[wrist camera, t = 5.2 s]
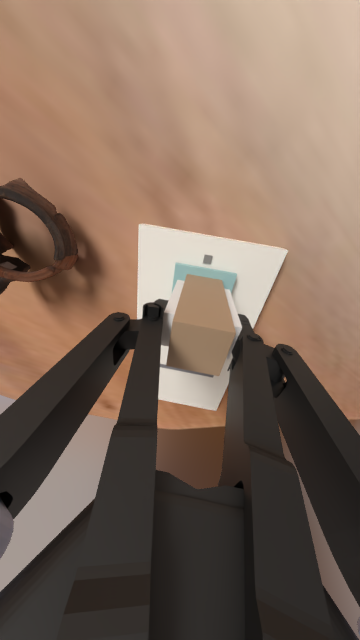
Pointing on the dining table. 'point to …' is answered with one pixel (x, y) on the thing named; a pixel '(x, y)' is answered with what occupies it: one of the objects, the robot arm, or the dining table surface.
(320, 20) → the dining table surface
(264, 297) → the board
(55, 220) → the dark brown looped ring
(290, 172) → the dining table surface
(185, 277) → the stub
